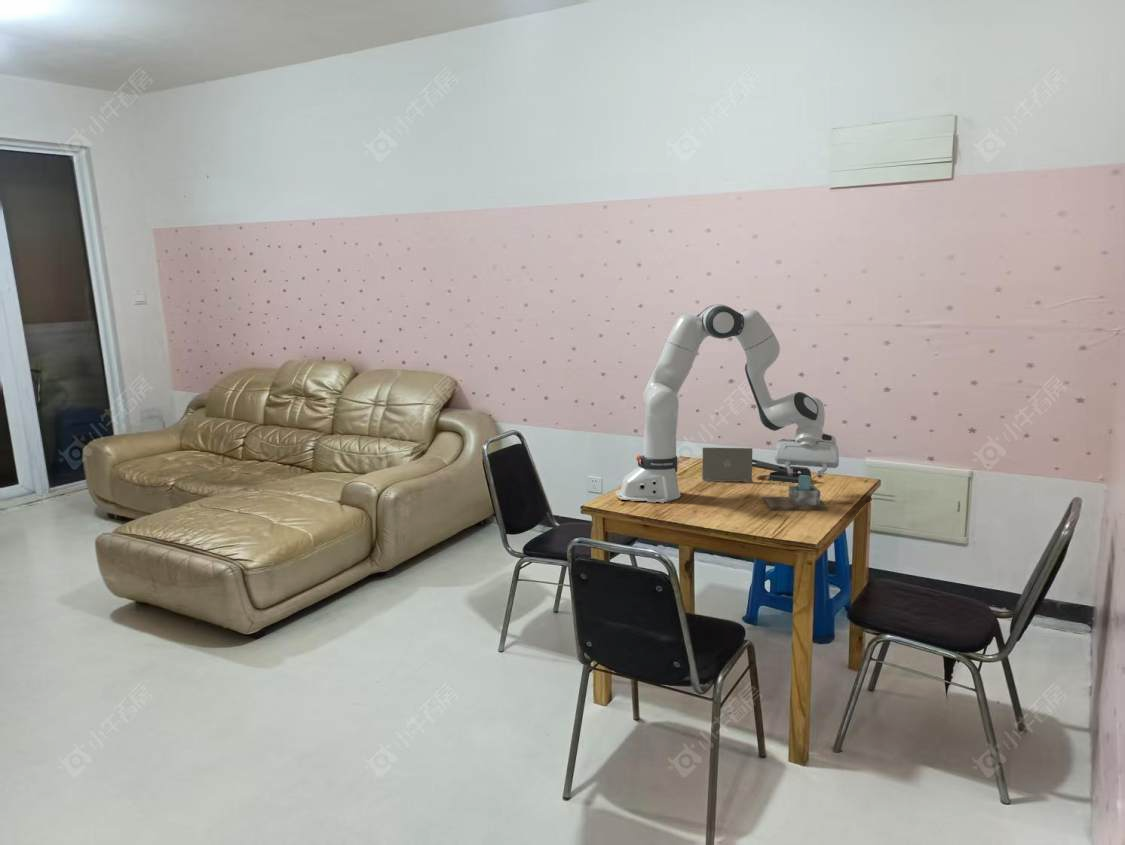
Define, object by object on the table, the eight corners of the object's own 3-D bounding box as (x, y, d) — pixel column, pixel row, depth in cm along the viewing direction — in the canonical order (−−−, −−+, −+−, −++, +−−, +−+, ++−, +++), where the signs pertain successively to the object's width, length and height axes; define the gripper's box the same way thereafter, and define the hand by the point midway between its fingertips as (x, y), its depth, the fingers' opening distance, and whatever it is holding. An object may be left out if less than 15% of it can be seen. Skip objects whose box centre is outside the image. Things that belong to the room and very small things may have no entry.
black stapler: (745, 457, 294) (813, 462, 283) (745, 473, 295) (812, 479, 284) (740, 462, 286) (809, 467, 275) (739, 479, 287) (808, 485, 276)
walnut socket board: (771, 510, 245) (771, 493, 244) (762, 500, 257) (763, 484, 256) (827, 510, 245) (828, 493, 244) (816, 500, 256) (817, 483, 255)
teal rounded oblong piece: (799, 503, 249) (800, 477, 247) (796, 500, 253) (797, 475, 251) (811, 503, 249) (812, 477, 247) (808, 500, 252) (809, 475, 251)
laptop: (749, 474, 294) (750, 441, 292) (751, 482, 282) (752, 448, 279) (701, 473, 297) (702, 440, 295) (702, 481, 285) (702, 447, 282)
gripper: (776, 433, 259) (771, 468, 252) (840, 437, 251) (837, 472, 244) (777, 444, 264) (773, 478, 256) (840, 447, 256) (837, 483, 249)
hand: (805, 475), depth 250 cm, fingers open, 8 cm apart
